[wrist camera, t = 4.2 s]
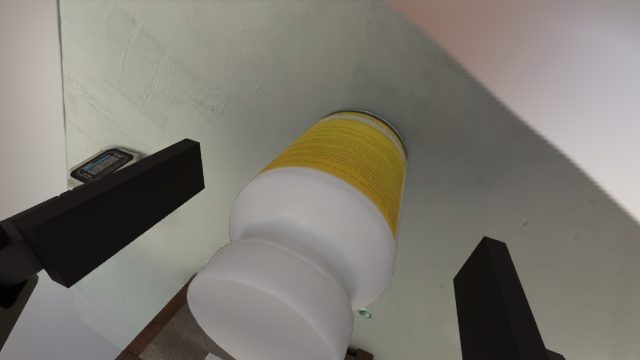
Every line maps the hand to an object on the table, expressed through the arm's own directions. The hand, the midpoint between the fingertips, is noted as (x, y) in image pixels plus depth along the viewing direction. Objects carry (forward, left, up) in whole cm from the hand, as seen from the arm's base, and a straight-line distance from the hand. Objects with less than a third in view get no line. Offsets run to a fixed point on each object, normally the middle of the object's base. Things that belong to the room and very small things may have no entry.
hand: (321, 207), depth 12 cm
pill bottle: (0, 0, -6) cm, 6 cm away
